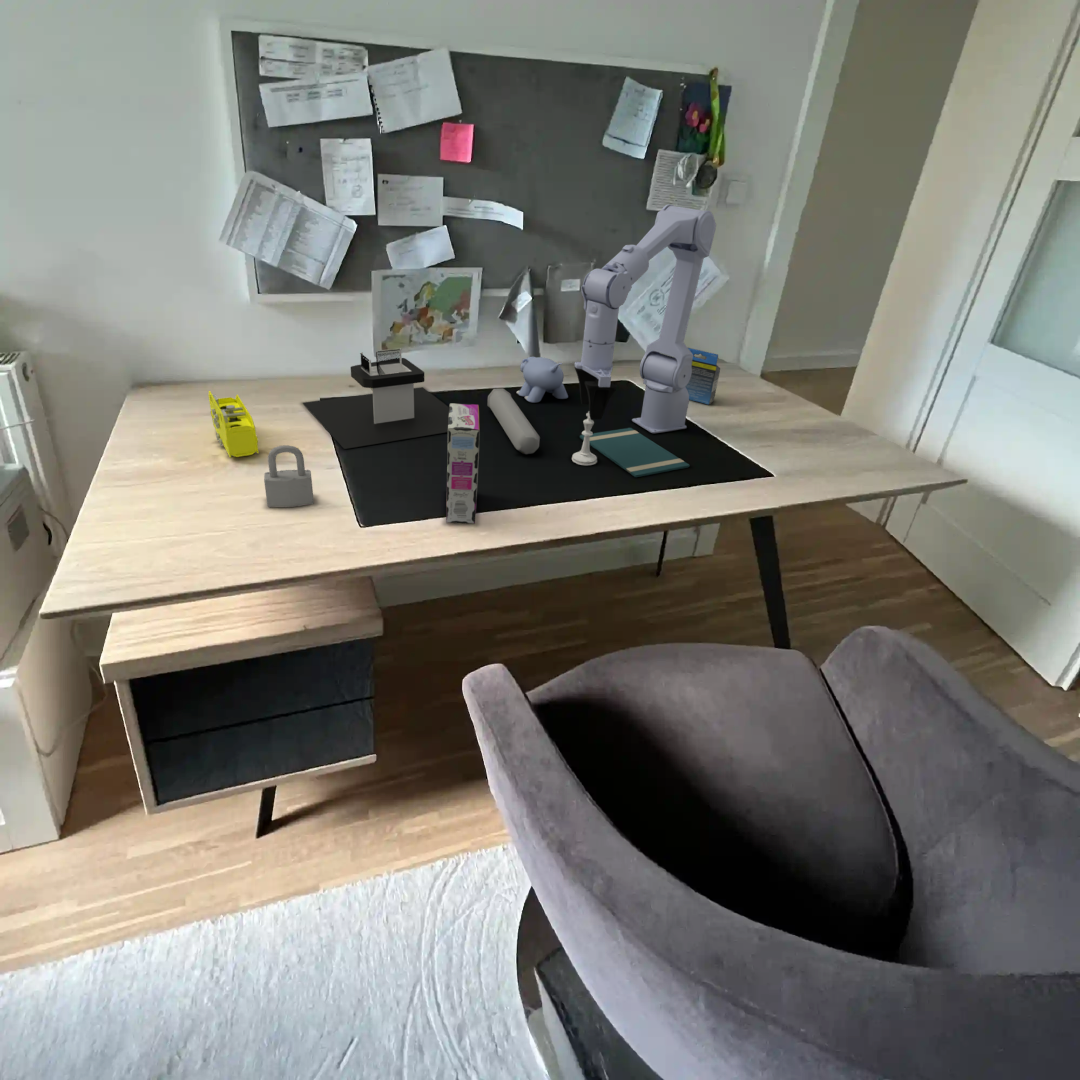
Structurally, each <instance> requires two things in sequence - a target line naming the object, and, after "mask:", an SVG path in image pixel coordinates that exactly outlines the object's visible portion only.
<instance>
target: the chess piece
mask: <svg viewBox="0 0 1080 1080" xmlns="http://www.w3.org/2000/svg"><path fill="white" fill-rule="evenodd" d="M585 416H586V417H587V418H586V419H583V421H582V422H583V427H584V430H583V431H582V432H581V435H585V436H584V440H582V441H583V442H582V445H581V449H580V450H579V451H577V452H574V453H573V454H572V456H571V460H572V462H573V463H575V464H576V465H580V466H594V465H596V464H597V463H598V456H597V455H595V454H594V453H592V452H591V450H590V447H591V445H590V442H589V440H590V436H592V435H593V431H591V430H592V428H593V426H594V424H595V421H594V419H590V415H589V410H588V411H587V412H586V413H585Z"/></svg>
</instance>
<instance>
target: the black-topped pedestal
mask: <svg viewBox="0 0 1080 1080" xmlns="http://www.w3.org/2000/svg"><path fill="white" fill-rule="evenodd" d="M363 353H364V352H361V351H360V353H359V354H360V364H356V365H352V366H350V377H351V378H352V379H353V380H355V382H357V383H358V384H359V385H360V386H361V387H362V388H365V389H370V390H371V391H372V393H368V394H359V395H353V396H352V395H351V396H344V397H336V398H335V397H334V398H328V399H320V400H313V401H305V402H302V404H303V405H304V407H305V408H306V409H307V410H308V411H309V412H310V413H311V414H312V415H313V417H314V418H315V419H316V420H317V421H318V422H319V423H320V425H322V426H323V428H324V429H325V430H326V431H327V432H328V433H329V434H330V435H331V436H332V438H334V440H335V441H336V442H337V443H338V444H339V445H340V446H341V448H342V449H343V450H347V449H353V448H358V447H366V446H372V445H377V444H383V443H390V442H395V441H401V440H408V439H415V438H421V437H425V436H431V435H432V436H433V435H438V434H444V433H448V419H449V408H450V406H449V405H447V404H445V403H444V402H443V401H441V400H440V399H439V398H437V397H436V396H435V395H434V394H433V393H431V392H430V391H428V390H427V389H426V388H424V387H415V384H419V383H420V384H421V383H424V382H425V371H423V370H422V369H421V368H420V367H418V366H417V365H415V364H414V363H412V362H411V361H410V360H409V359H407V358H405V357H402V348H401V347H400V348H398V349H388V350H375V360H376V361H373V362H372V359H369V358H368V357H366V355H364V354H363ZM397 353H398V355H397ZM387 354H388V355H387ZM388 356H389V357H388Z"/></svg>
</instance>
